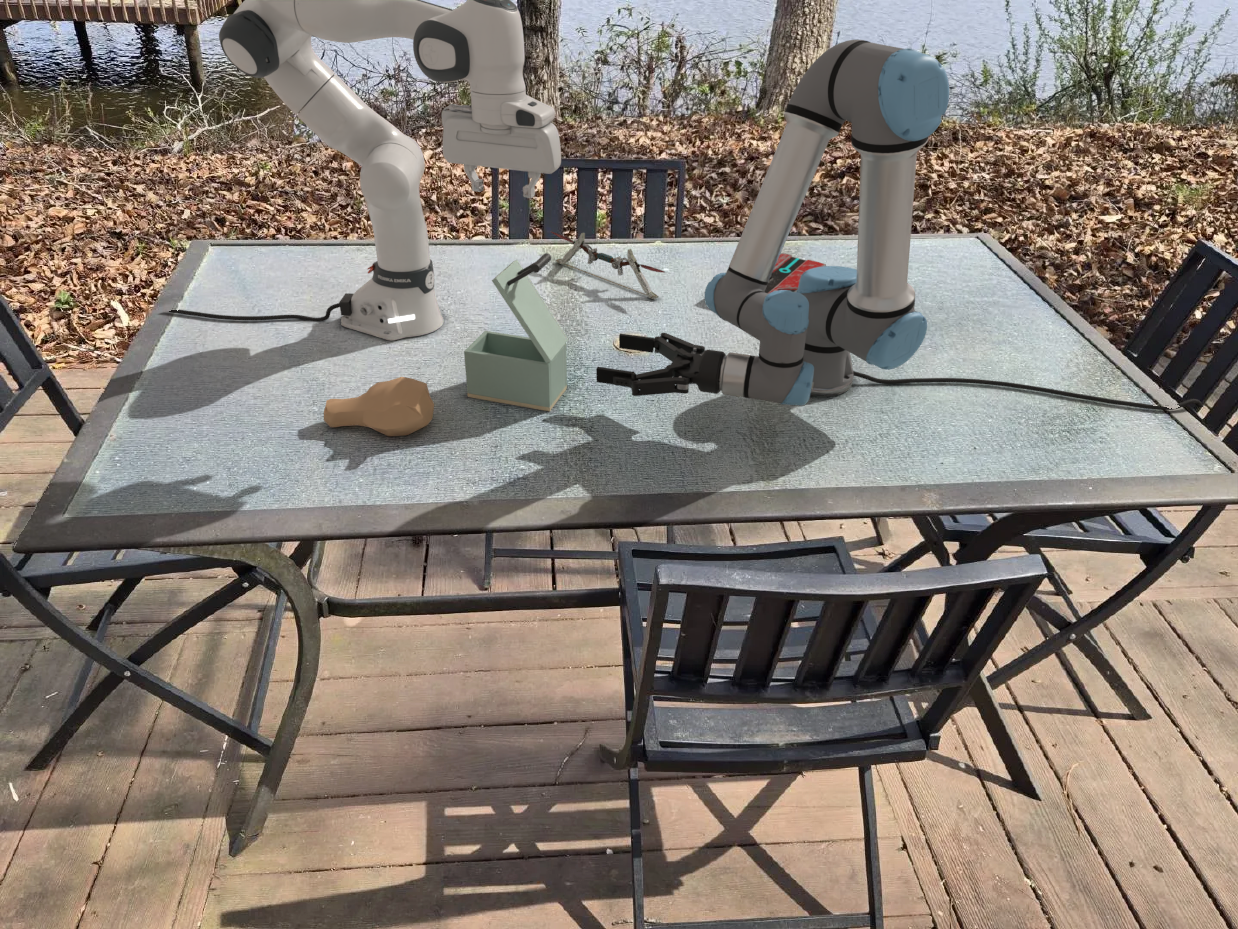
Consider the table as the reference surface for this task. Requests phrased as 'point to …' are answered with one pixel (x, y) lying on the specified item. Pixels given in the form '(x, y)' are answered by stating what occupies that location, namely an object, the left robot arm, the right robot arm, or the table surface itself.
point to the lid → (531, 307)
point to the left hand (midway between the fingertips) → (503, 193)
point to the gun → (789, 273)
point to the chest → (514, 371)
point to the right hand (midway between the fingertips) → (608, 356)
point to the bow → (616, 262)
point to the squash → (385, 408)
